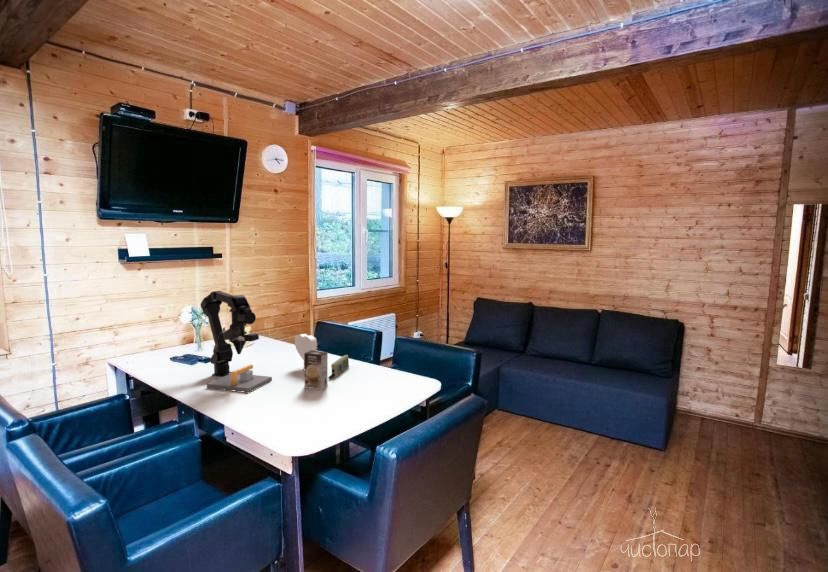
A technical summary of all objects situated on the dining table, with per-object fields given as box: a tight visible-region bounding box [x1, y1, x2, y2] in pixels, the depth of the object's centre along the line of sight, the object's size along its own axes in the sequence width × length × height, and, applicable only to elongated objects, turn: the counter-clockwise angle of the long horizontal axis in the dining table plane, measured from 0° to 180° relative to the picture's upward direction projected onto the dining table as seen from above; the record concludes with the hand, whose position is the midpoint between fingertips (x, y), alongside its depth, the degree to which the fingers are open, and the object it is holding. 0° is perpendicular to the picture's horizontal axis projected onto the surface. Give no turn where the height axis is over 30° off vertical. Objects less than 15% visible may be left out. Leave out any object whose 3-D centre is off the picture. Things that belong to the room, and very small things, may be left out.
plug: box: [240, 369, 254, 381], centre depth 209 cm, size 4×4×6 cm
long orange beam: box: [230, 364, 254, 385], centre depth 206 cm, size 3×14×6 cm, turn 165°
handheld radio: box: [327, 354, 350, 380], centre depth 228 cm, size 7×3×25 cm
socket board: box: [206, 373, 273, 393], centre depth 208 cm, size 22×18×2 cm
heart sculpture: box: [294, 333, 318, 369], centre depth 234 cm, size 16×5×18 cm, turn 47°
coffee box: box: [303, 350, 329, 390], centre depth 205 cm, size 9×6×16 cm
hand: (239, 354), depth 212 cm, fingers closed
